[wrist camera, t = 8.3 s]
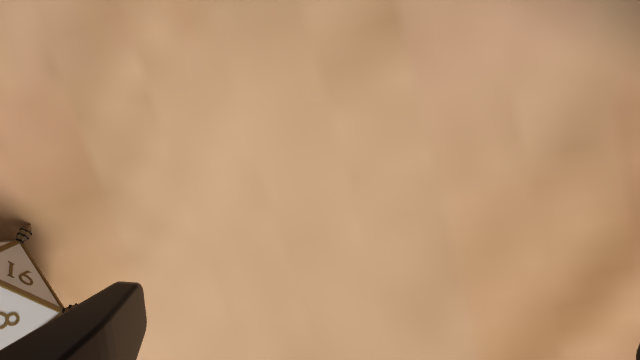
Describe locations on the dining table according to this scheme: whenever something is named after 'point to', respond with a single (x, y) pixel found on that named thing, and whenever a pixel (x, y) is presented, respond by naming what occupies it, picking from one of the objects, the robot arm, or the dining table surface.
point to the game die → (23, 292)
